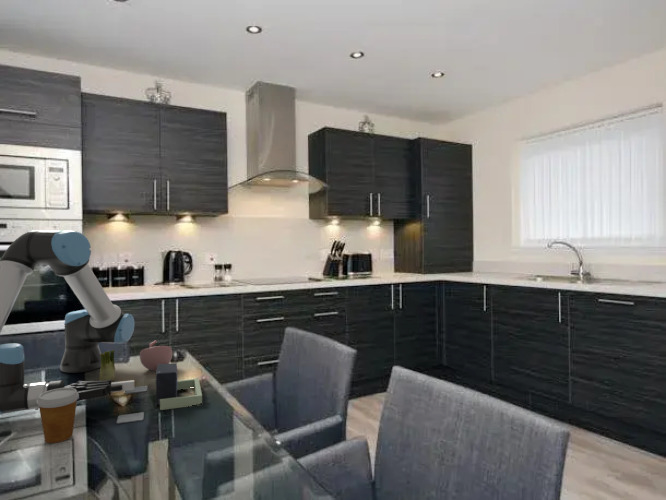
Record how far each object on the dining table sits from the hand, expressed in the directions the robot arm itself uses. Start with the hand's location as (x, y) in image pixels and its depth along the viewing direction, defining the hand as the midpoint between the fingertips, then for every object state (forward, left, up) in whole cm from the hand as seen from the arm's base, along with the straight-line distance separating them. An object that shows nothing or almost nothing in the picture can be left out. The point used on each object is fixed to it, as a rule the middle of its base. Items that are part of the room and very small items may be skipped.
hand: (134, 384), depth 140 cm
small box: (-1, +10, -6) cm, 12 cm away
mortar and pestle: (-35, +6, -6) cm, 36 cm away
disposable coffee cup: (+18, -17, -6) cm, 26 cm away
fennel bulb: (-23, -10, -6) cm, 26 cm away
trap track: (-1, +8, -6) cm, 10 cm away
